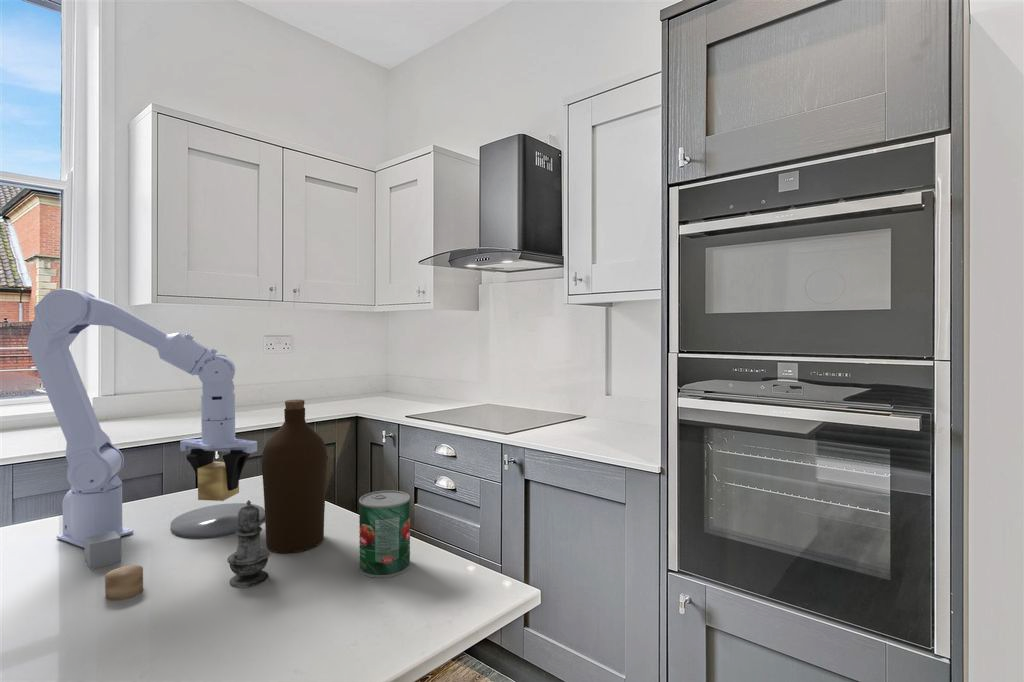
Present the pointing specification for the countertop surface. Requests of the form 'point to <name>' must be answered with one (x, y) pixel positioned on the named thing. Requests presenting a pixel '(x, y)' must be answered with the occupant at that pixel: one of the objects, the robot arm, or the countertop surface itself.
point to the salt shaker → (248, 550)
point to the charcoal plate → (210, 521)
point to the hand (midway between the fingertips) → (219, 488)
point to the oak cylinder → (123, 582)
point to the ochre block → (214, 483)
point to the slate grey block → (102, 549)
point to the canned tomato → (384, 533)
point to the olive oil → (294, 484)
